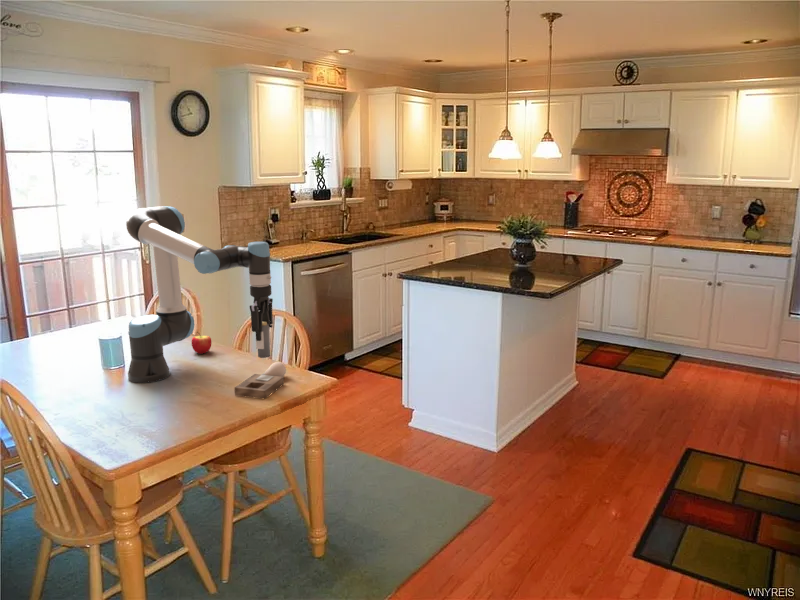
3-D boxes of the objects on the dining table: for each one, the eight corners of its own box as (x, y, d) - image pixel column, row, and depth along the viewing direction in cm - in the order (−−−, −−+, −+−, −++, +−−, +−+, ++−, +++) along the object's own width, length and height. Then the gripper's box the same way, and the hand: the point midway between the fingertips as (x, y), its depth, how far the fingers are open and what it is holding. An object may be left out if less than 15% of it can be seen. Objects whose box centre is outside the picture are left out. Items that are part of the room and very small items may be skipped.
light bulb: (259, 372, 241) (284, 359, 246) (253, 370, 247) (279, 358, 252) (265, 387, 242) (291, 374, 247) (260, 385, 248) (285, 373, 253)
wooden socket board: (235, 395, 231) (234, 386, 230) (255, 381, 245) (254, 373, 244) (265, 398, 228) (264, 390, 227) (283, 384, 242) (283, 376, 241)
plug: (255, 357, 236) (254, 323, 233) (261, 353, 240) (259, 320, 237) (266, 358, 234) (265, 324, 232) (272, 354, 239) (270, 321, 236)
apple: (188, 353, 278) (186, 330, 276) (205, 348, 284) (204, 327, 282) (198, 357, 273) (196, 334, 270) (215, 352, 279) (214, 330, 277)
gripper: (258, 290, 222) (261, 354, 227) (280, 280, 238) (283, 340, 243) (238, 289, 224) (242, 352, 229) (262, 279, 240) (265, 339, 245)
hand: (263, 346), depth 236 cm, fingers closed on plug, 4 cm apart
